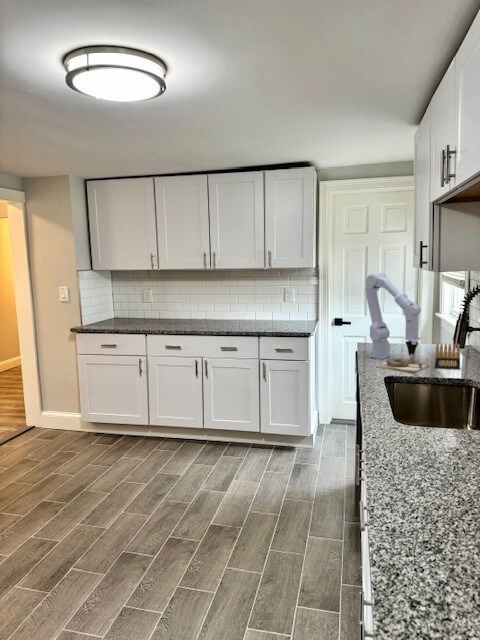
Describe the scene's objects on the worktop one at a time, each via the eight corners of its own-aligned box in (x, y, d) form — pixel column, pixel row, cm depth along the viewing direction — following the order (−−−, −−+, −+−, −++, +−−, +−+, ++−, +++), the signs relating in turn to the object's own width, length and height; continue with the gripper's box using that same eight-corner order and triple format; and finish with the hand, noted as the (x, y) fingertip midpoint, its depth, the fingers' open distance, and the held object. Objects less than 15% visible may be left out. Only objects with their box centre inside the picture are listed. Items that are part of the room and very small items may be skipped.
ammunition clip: (434, 368, 208) (435, 343, 206) (434, 367, 210) (435, 342, 208) (460, 369, 205) (460, 343, 203) (459, 368, 206) (460, 343, 205)
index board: (392, 360, 225) (392, 355, 225) (429, 366, 211) (429, 360, 211) (375, 367, 214) (375, 361, 214) (413, 373, 201) (413, 367, 200)
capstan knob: (394, 367, 208) (394, 358, 207) (382, 362, 217) (382, 354, 217) (420, 364, 211) (420, 356, 210) (408, 360, 220) (408, 351, 220)
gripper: (423, 331, 210) (422, 359, 212) (417, 326, 224) (417, 352, 226) (407, 331, 211) (407, 359, 213) (403, 326, 225) (402, 352, 227)
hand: (411, 356), depth 220 cm, fingers closed
